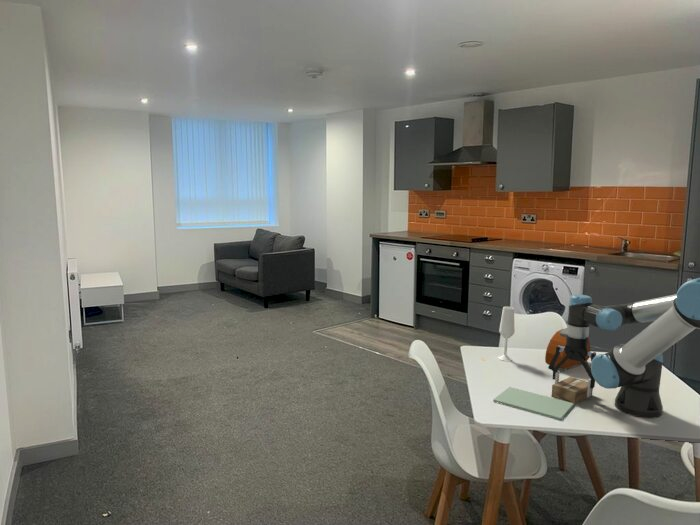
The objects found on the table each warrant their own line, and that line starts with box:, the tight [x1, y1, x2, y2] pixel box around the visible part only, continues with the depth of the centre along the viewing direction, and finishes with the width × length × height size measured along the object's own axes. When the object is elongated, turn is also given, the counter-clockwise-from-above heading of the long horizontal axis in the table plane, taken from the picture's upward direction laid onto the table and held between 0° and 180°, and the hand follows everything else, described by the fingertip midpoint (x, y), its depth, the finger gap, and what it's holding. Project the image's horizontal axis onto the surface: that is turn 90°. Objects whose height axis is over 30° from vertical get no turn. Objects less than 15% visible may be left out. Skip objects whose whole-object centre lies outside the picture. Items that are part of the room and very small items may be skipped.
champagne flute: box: [497, 306, 516, 362], centre depth 241 cm, size 7×7×24 cm
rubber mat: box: [493, 386, 575, 421], centre depth 194 cm, size 24×16×1 cm, turn 53°
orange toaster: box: [544, 327, 591, 372], centre depth 236 cm, size 23×9×17 cm, turn 129°
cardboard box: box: [551, 376, 594, 405], centre depth 201 cm, size 9×14×5 cm, turn 131°
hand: (572, 391), depth 202 cm, fingers open, 11 cm apart
